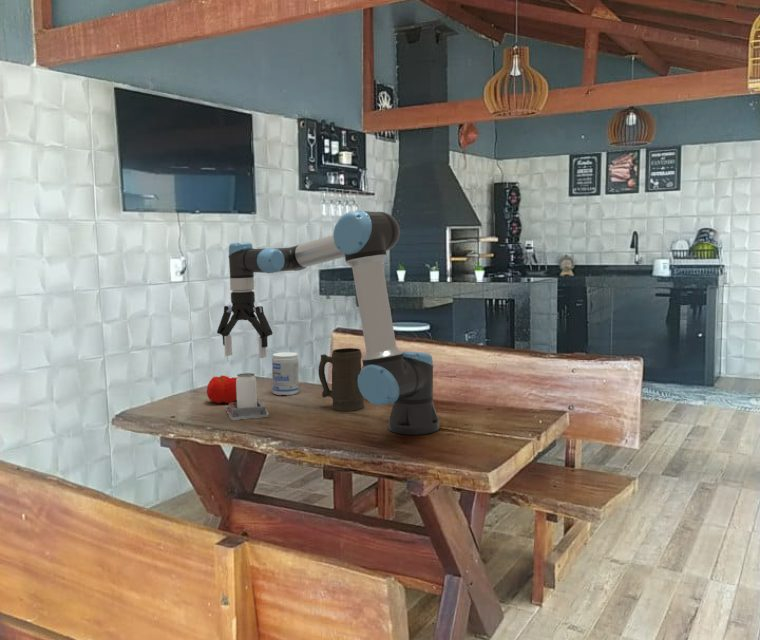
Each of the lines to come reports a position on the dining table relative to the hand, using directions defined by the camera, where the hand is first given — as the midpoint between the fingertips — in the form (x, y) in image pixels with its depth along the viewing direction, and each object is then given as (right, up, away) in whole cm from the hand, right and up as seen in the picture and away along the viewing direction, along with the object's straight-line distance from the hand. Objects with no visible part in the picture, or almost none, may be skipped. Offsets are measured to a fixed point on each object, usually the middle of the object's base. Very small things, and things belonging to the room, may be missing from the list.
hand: (245, 356), depth 234 cm
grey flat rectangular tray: (0, -19, +2) cm, 19 cm away
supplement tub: (+9, -15, +33) cm, 37 cm away
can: (0, -18, +2) cm, 18 cm away
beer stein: (+30, -18, +9) cm, 36 cm away
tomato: (-11, -17, +20) cm, 28 cm away
